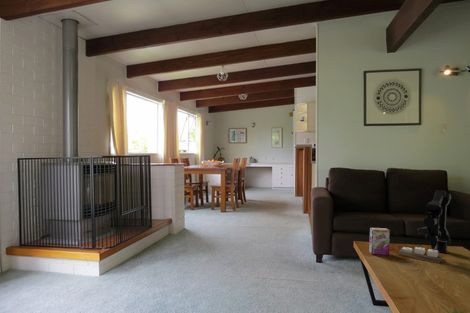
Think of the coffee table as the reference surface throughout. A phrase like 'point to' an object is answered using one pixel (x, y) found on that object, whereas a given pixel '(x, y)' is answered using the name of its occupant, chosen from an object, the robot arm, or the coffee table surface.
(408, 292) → the coffee table surface
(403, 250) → the three pip tile
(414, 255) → the brown dotted block frame
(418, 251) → the two pip tile
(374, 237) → the candy bar box
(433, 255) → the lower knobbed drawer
